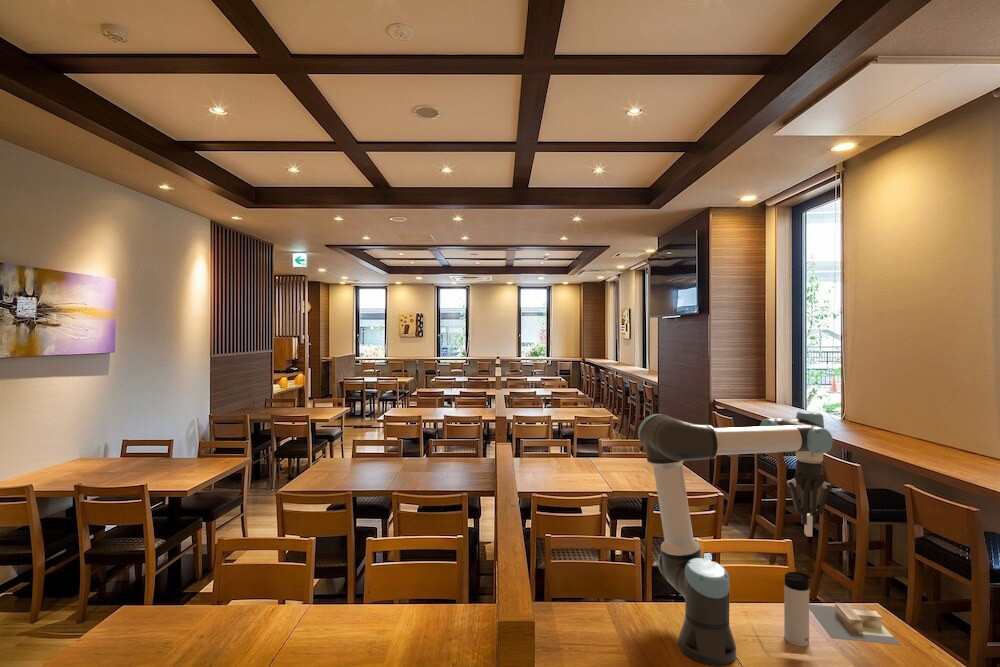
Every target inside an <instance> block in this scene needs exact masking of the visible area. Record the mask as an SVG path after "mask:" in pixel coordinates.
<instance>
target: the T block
mask: <svg viewBox="0 0 1000 667" xmlns="http://www.w3.org/2000/svg"><path fill="white" fill-rule="evenodd" d="M834 604H835V605H834V607H835V614H836V615H837V617H838V618H839V619H840V620H841V621H842V623H843V624H844V625H845V626H846V627H847V629H848V630H849V631H854V632H863V627H869V628H879V629H882V625H883V624H882V623H883V620H882V619H883V618H882V615H880V614H879V613H878V611H876V610H869V609H867V610H858V609H859V608H855V609H852V608H853V607H851V606H850V605H849V604H848V603H843V602H835V603H834Z"/></svg>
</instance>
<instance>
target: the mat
mask: <svg viewBox="0 0 1000 667" xmlns="http://www.w3.org/2000/svg"><path fill="white" fill-rule="evenodd" d="M851 608H852V609H856V607H855V608H853V607H851ZM857 609H858V610H868V609H867V608H866V609H865V608H857ZM809 611H810V612H811V613H812V614H813V615H814V617H815V618H816V619H817V621H818V623H819V624H820V625H821V626H822V628H823V629H824V630H825V631H826V633H827V634H828V636H829V637H830V638H831V639H835V640H836V639H837V640H849V641H856V642H857V641H859V642H869V643H878V644H885V645H886V644H887V645H897V646H898V645H899V646H901V645H902V644H901V643H900V642H899V640H897V639H896V638H895V637H894V636H893V634H891V632H890V631H889V630H888V629H887V628H886V627H885V626H884V625H883V624H882V629H879V628H869V627H863V632H854V631H849V630H848V629H847V627H846V626H845V625H844V624H843V623H842V621H841V620H840V619H839V618H838V617H837V615H836V614H835V606H833V605H831V606H830V605H822V604H821V605H819V604H810V603H809Z"/></svg>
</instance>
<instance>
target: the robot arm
mask: <svg viewBox="0 0 1000 667" xmlns="http://www.w3.org/2000/svg"><path fill="white" fill-rule="evenodd" d="M824 423H825V422H824V415H823V414H822V413H820V412H817V411H811V410H810V411H809V410H808V411H807V410H806V411H805V410H803V411H800V410H799V411H797V412H796V416H795V417H794V418H787V417H785V418H781V417H780V418H779V417H772V418H771V417H770V418H765V419H763V420H762V421H761V422H760V424H759V426H739V427H736V426H733V427H713V426H712V425H710V424H698V423H697V424H696V423H691V422H687V421H683V420H682V419H677V418H673V417H671V416H670V415H667V414H663V413H661V414H660V413H652V414H650V415H648V416H646V417H645V418H644V419H643V420H642V422H641V423H640V424H639V427H638V430H637V435H638V436H637V437H638V440H639V442H640V444H641V445H642V446H643V447H644V448H645V456H646V460H647V463H649V464H650V465H651V466H652V467H653V473H654V479H655V480H654V481H655V485H656V486H655V487H656V493H657V500H658V505H659V513H660V518H661V519H660V520H661V525H662V532H663V539H664V540H663V542H662V543H661V544H660V553H659V554H658V558H657V566H658V570H659V571H660V574H661V575H662V577H663V579H664V580H666V582H667V583H668V584H670V585H671V587H673V589H675V590H676V591H677V592H678V593H679V594H680V595H681V596H682V597H683V598H684V601H685V602H684V603H685V604H684V606H685V608H684V610H685V611H684V612H685V613H684V614H685V615H684V617H685V618H684V620H683V624H682V626H681V629H680V632H679V635H678V636H679V637H678V647H679V649H680V651H681V652H682V653H683V654H684V655H685V656H687V657H688V658H690V659H691V660H694V661H696V662H699V663H701V664H705V665H710V666H726V665H729V664H732V663H733V662H734V661H735V660H736V658H737V646H736V641H735V639H734V636H733V633H732V630H731V627H730V626H731V625H730V591H731V584H730V575H729V573H728V571H727V570H726V568H725V567H724V566H723V565H722V564H720V563H718V562H717V561H712V560H711V559H708V558H703V556H702V550H701V546H700V543H699V542H698V541H697V540H695V539H694V535H693V526H692V520H691V514H690V507H689V501H688V494H687V488H686V482H685V475H684V468H683V463H684V462H685V461H699V460H701V461H702V460H712V459H715V458H716V457H717V456H722V455H724V456H725V455H726V456H727V455H728V456H729V455H745V454H746V455H747V454H769V453H770V454H771V453H789V452H790V453H792V452H793V453H794V452H795V458H796V459H797V460H795V474H794V476H793V478H792V479H790V480H786V483H785V484H787V486H788V488H789V491H790V495H791V498H792V502H793V506H794V510H795V511H796V512H797V513H800V518H801V519H800V522H801V524H802V526H803V525H804V530H803V532H804V533H803V534H804V535H805V536H806V537H813V526H816V525H817V524H816V523H817V517H818V515H823V513H824V509H825V507H826V503H827V499H828V496H829V493H830V491H831V490H832V488H833V485H832V484H830V483H829V482H826V481H825V477H824V463H823V461H824V454H826V453H827V452H829V451H830V450H831V449H832V447H833V442H834V441H833V440H834V439H833V435H832V434H831V432H830V431H829V430H828V429H826V428H825V424H824ZM797 485H798V486H799V488H800V499H799V495H798V492H797V488H796V486H797ZM820 487H822V488H821V490H820V494H819V498H817V497H818V490H819V489H820ZM808 499H809V500H808ZM808 501H809V502H808ZM808 503H809V504H808ZM808 505H809V512H808Z"/></svg>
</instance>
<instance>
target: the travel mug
mask: <svg viewBox="0 0 1000 667" xmlns="http://www.w3.org/2000/svg"><path fill="white" fill-rule="evenodd" d="M810 580H811V576H810V575H809V573H804V572H799V571H790V572H786V573H785V574H784V583H783V584H784V589H783V590H784V591H783V592H784V600H783V602H784V604H783V606H784V609H783V610H784V611H783V612H784V614H783V615H784V627H783V628H784V630H783V632H784V639H785V641H786V642H788V643H789V644H792V645H794V646H798V647H806V646H809V645H810V609H809V604H810Z"/></svg>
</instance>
